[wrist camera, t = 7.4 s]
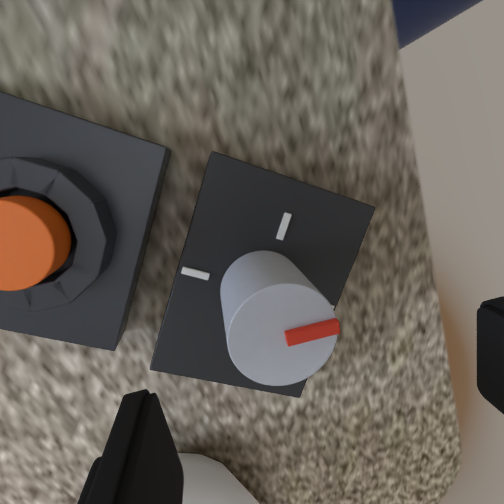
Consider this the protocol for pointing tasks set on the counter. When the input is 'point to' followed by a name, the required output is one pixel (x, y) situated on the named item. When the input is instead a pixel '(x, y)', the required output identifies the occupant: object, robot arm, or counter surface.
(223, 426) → the counter surface
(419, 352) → the counter surface
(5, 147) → the block
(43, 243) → the button
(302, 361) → the timer knob
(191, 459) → the cup
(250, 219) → the timer panel
